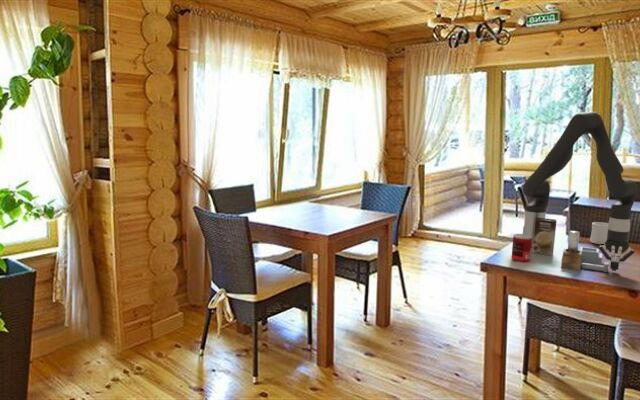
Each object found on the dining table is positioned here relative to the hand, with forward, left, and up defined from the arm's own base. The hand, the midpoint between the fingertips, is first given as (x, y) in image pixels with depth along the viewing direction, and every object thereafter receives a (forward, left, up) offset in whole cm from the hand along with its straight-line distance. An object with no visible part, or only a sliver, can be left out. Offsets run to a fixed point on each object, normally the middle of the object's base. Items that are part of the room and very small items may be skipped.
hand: (614, 270), depth 202 cm
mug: (-7, +56, -1) cm, 56 cm away
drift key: (-8, 0, -1) cm, 8 cm away
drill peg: (-16, 0, +4) cm, 16 cm away
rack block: (-10, +10, -1) cm, 14 cm away
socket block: (-16, 0, -1) cm, 16 cm away
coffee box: (-29, +17, -1) cm, 33 cm away
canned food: (-36, -1, -1) cm, 36 cm away
